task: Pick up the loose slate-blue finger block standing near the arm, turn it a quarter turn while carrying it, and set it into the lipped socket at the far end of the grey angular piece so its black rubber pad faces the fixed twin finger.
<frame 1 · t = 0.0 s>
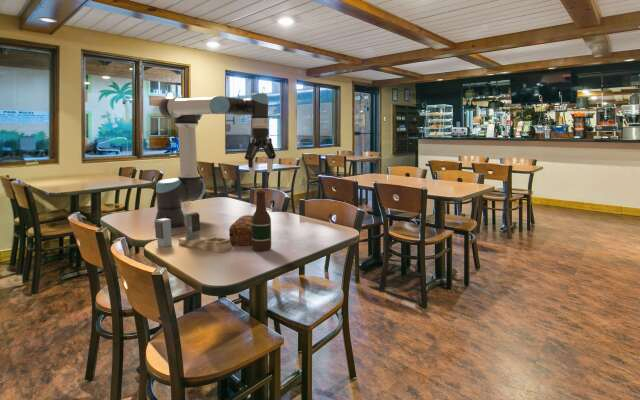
hand: (261, 173, 189), 28 cm above the table, fingers open, 13 cm apart
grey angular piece: (204, 246, 167), on the table
bread: (246, 240, 177), on the table
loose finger: (164, 244, 169), on the table
beer bottle: (261, 249, 163), on the table
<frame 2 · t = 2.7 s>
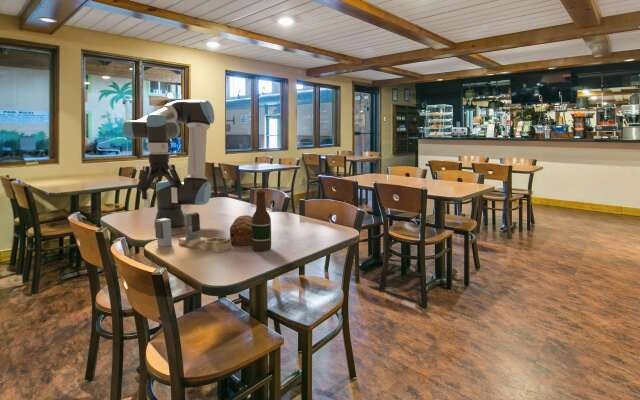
hand: (161, 205, 166), 17 cm above the table, fingers open, 13 cm apart
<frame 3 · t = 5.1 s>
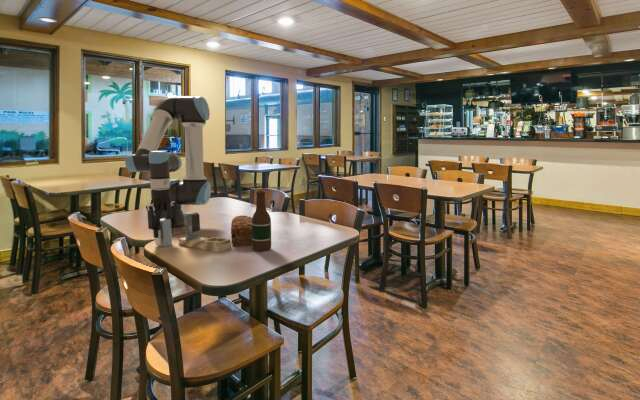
hand: (163, 243, 168), 1 cm above the table, fingers closed on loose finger, 5 cm apart
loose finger: (164, 244, 169), on the table, touching gripper
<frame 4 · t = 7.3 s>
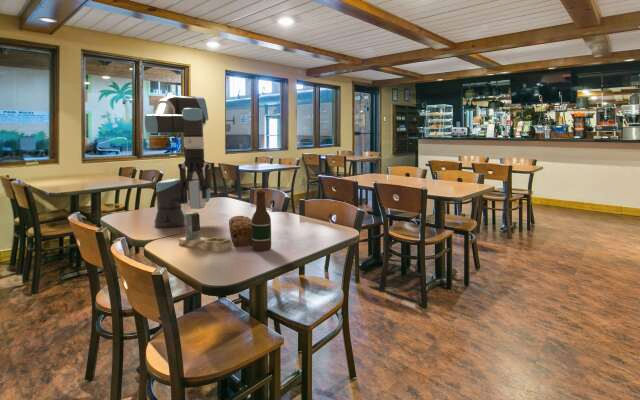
hand: (196, 206, 162), 18 cm above the table, fingers closed on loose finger, 5 cm apart
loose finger: (197, 207, 162), point 17 cm above the table, touching gripper
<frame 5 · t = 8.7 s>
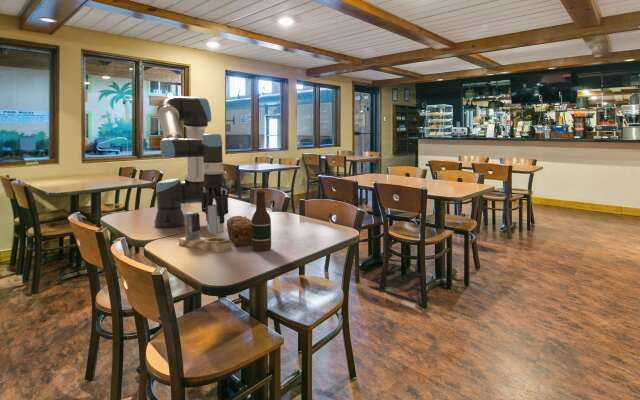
hand: (215, 230, 162), 8 cm above the table, fingers closed on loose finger, 5 cm apart
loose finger: (216, 232, 162), point 7 cm above the table, touching gripper
when the fingers open (5 cm above the table, at t = 9.5 s): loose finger drops 2 cm, resting on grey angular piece.
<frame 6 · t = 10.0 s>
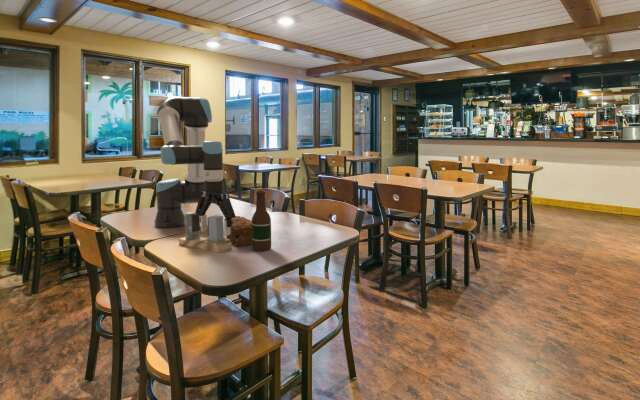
hand: (215, 232, 163), 7 cm above the table, fingers open, 12 cm apart
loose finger: (216, 242, 163), point 2 cm above the table, touching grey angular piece
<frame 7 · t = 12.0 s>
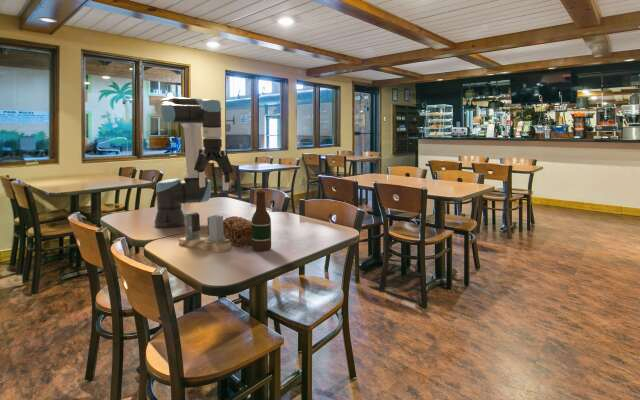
hand: (213, 188, 170), 23 cm above the table, fingers open, 13 cm apart
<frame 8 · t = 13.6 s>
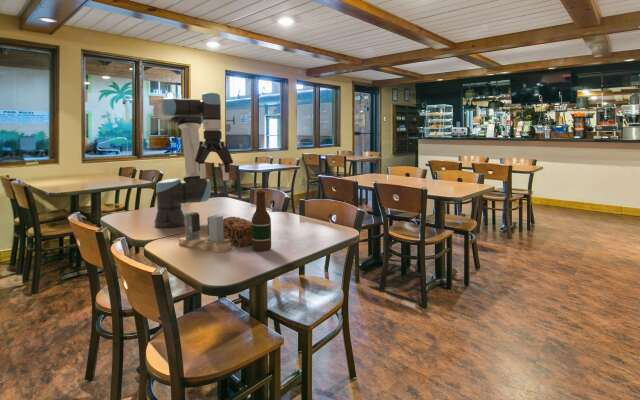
hand: (214, 179, 175), 27 cm above the table, fingers open, 13 cm apart
at the end: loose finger 0.4 cm from the target spot on the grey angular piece, point 2.5 cm above the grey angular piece's base; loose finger tilted 0°; the gripper is holding nothing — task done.
